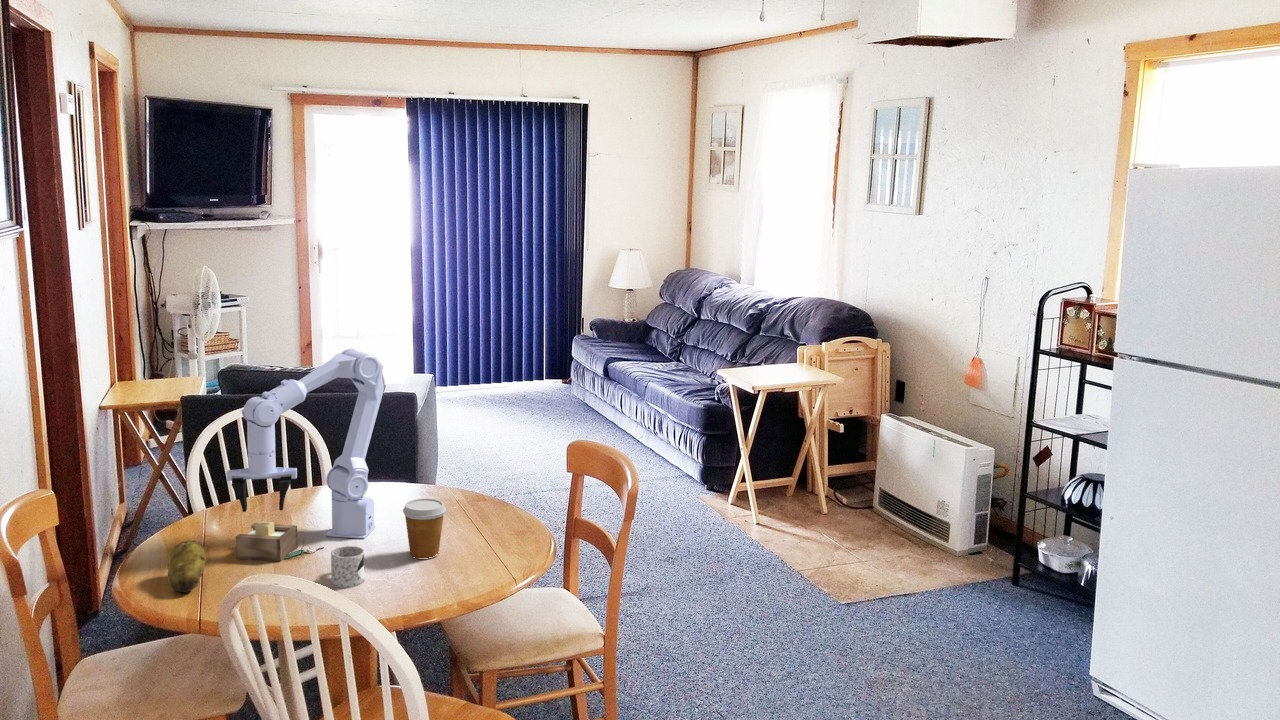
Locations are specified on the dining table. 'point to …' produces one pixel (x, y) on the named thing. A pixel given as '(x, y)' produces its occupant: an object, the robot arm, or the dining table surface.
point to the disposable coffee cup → (424, 526)
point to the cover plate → (266, 529)
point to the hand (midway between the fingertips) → (263, 509)
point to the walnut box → (267, 544)
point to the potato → (186, 565)
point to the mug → (347, 566)
